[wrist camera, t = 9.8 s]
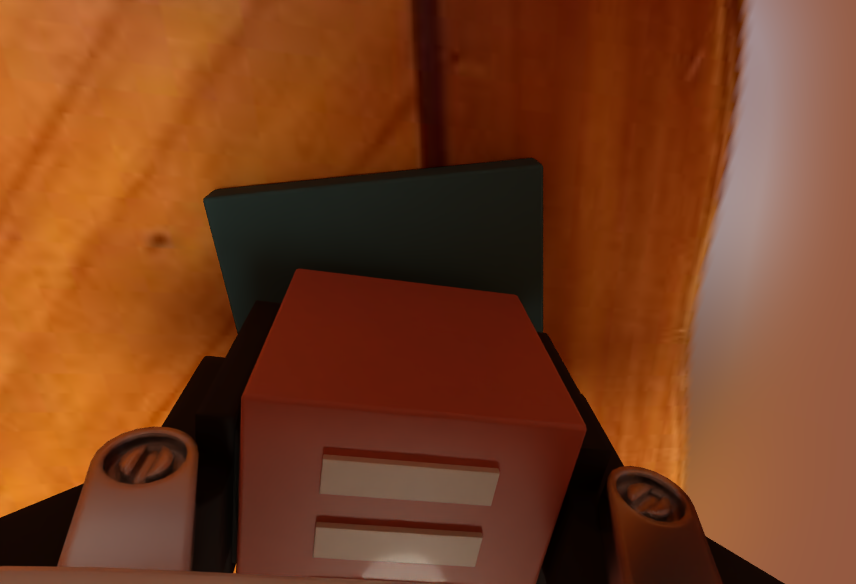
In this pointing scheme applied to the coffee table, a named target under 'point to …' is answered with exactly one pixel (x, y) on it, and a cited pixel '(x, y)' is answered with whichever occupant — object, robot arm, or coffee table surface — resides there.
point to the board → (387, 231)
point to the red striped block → (402, 436)
